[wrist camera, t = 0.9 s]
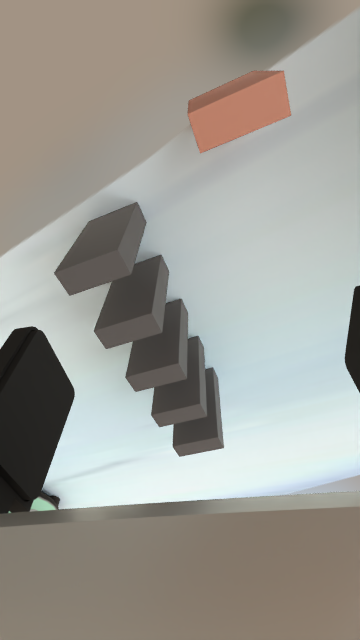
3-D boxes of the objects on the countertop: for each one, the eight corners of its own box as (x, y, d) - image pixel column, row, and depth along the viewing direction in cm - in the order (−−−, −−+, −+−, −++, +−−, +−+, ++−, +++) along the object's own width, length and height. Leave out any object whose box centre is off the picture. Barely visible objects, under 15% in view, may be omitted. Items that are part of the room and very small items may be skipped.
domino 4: (198, 335, 39) (200, 403, 31) (203, 347, 40) (207, 416, 32) (159, 346, 40) (151, 415, 32) (165, 358, 42) (159, 427, 34)
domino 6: (253, 70, 24) (283, 70, 16) (259, 101, 26) (291, 115, 18) (188, 100, 26) (187, 114, 18) (197, 128, 27) (200, 153, 19)
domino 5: (213, 367, 42) (218, 437, 34) (217, 378, 43) (223, 448, 35) (176, 377, 43) (172, 446, 35) (181, 387, 45) (179, 456, 37)
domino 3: (181, 298, 36) (178, 363, 28) (187, 312, 37) (186, 378, 29) (139, 311, 37) (125, 377, 29) (147, 325, 39) (135, 391, 31)
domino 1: (137, 202, 30) (117, 249, 22) (146, 222, 31) (131, 274, 23) (89, 221, 31) (53, 273, 23) (99, 240, 33) (69, 295, 25)
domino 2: (161, 254, 33) (151, 313, 25) (169, 271, 34) (162, 332, 26) (116, 270, 34) (93, 331, 26) (125, 286, 36) (106, 349, 28)
